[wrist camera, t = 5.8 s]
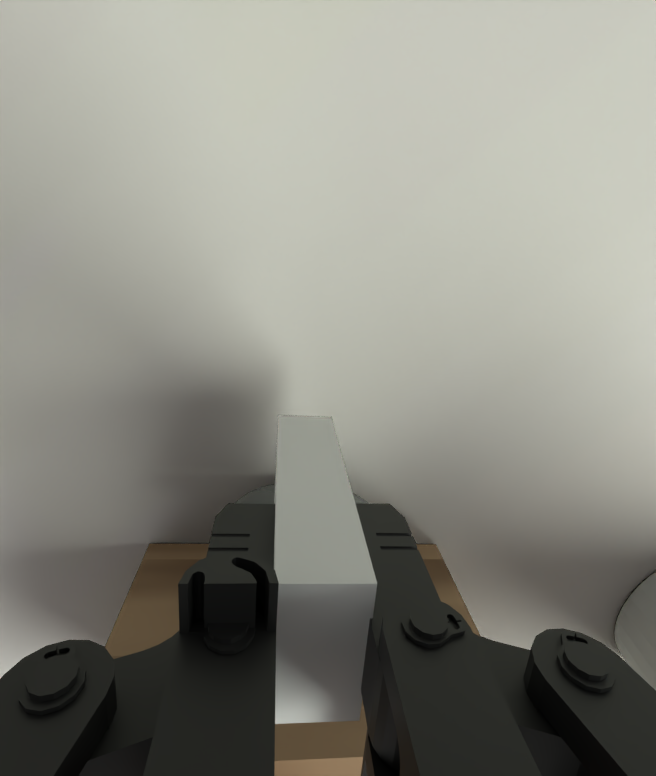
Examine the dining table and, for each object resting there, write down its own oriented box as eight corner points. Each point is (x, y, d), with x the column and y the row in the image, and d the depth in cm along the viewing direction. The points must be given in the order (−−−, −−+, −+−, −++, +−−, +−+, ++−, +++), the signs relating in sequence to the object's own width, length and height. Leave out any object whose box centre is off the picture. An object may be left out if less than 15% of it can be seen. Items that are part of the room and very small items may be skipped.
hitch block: (149, 543, 16) (51, 771, 9) (435, 544, 17) (535, 748, 10) (157, 677, 18) (80, 946, 11) (414, 670, 19) (486, 910, 12)
